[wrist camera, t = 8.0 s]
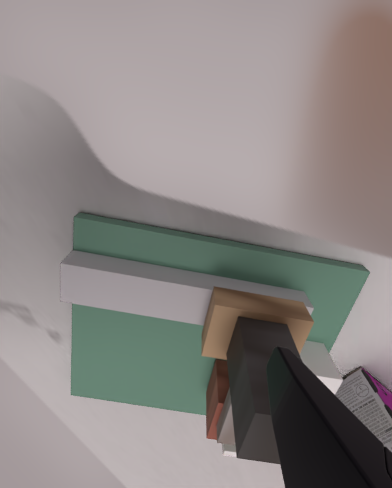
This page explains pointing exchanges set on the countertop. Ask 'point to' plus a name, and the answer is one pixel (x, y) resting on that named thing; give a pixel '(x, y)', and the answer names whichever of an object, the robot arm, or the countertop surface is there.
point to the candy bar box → (368, 403)
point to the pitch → (181, 308)
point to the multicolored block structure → (247, 365)
